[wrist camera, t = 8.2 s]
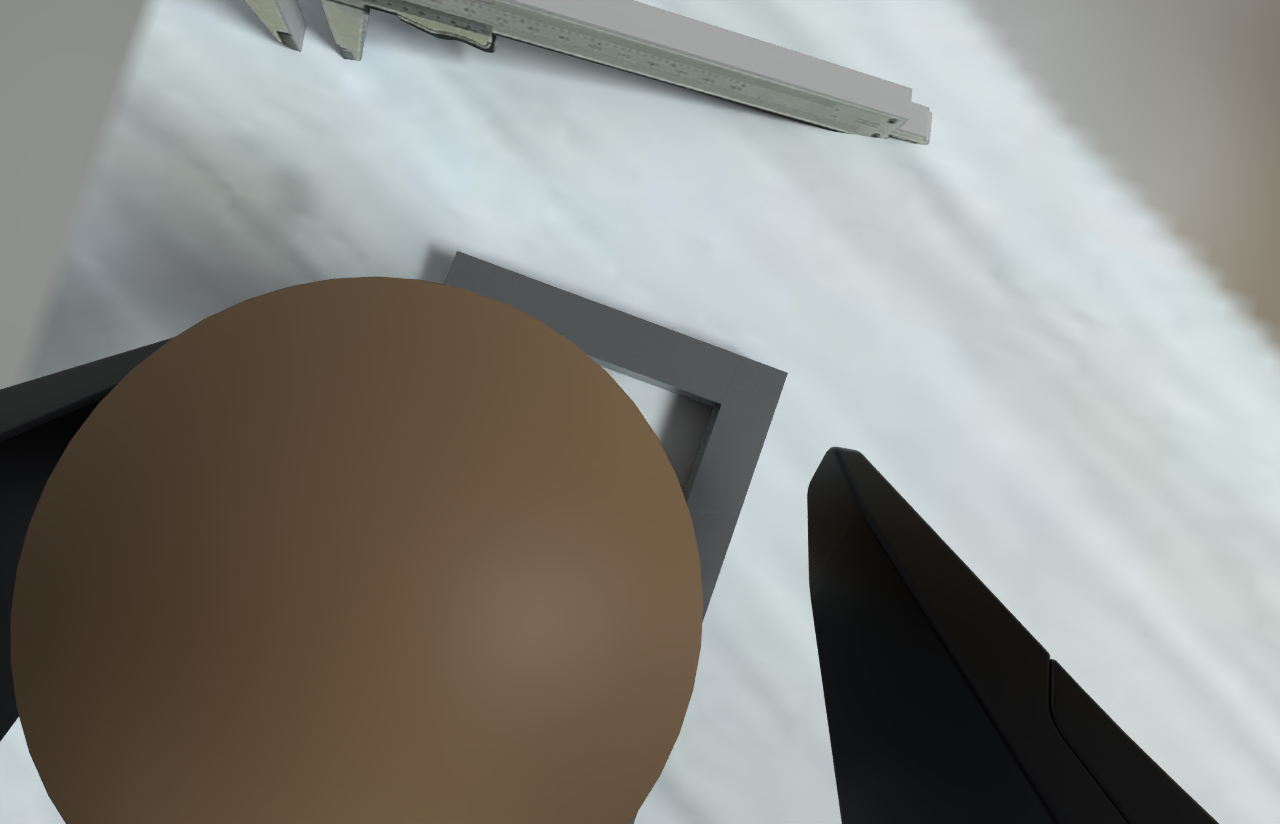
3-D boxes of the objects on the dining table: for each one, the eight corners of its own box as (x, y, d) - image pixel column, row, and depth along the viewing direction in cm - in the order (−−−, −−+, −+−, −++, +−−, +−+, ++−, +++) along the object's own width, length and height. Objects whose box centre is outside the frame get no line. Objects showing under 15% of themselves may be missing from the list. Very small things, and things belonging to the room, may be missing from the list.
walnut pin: (632, 545, 16) (706, 952, 3) (497, 546, 16) (-15, 986, 3) (632, 411, 16) (698, 280, 3) (498, 412, 16) (34, 273, 3)
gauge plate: (521, 1117, 15) (513, 1175, 14) (175, 1002, 15) (136, 1052, 14) (775, 378, 17) (787, 372, 15) (469, 265, 16) (457, 251, 15)
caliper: (289, 58, 17) (97, -172, 11) (295, 25, 17) (108, -221, 11) (922, 150, 18) (1091, -12, 11) (924, 119, 18) (1094, -59, 12)
